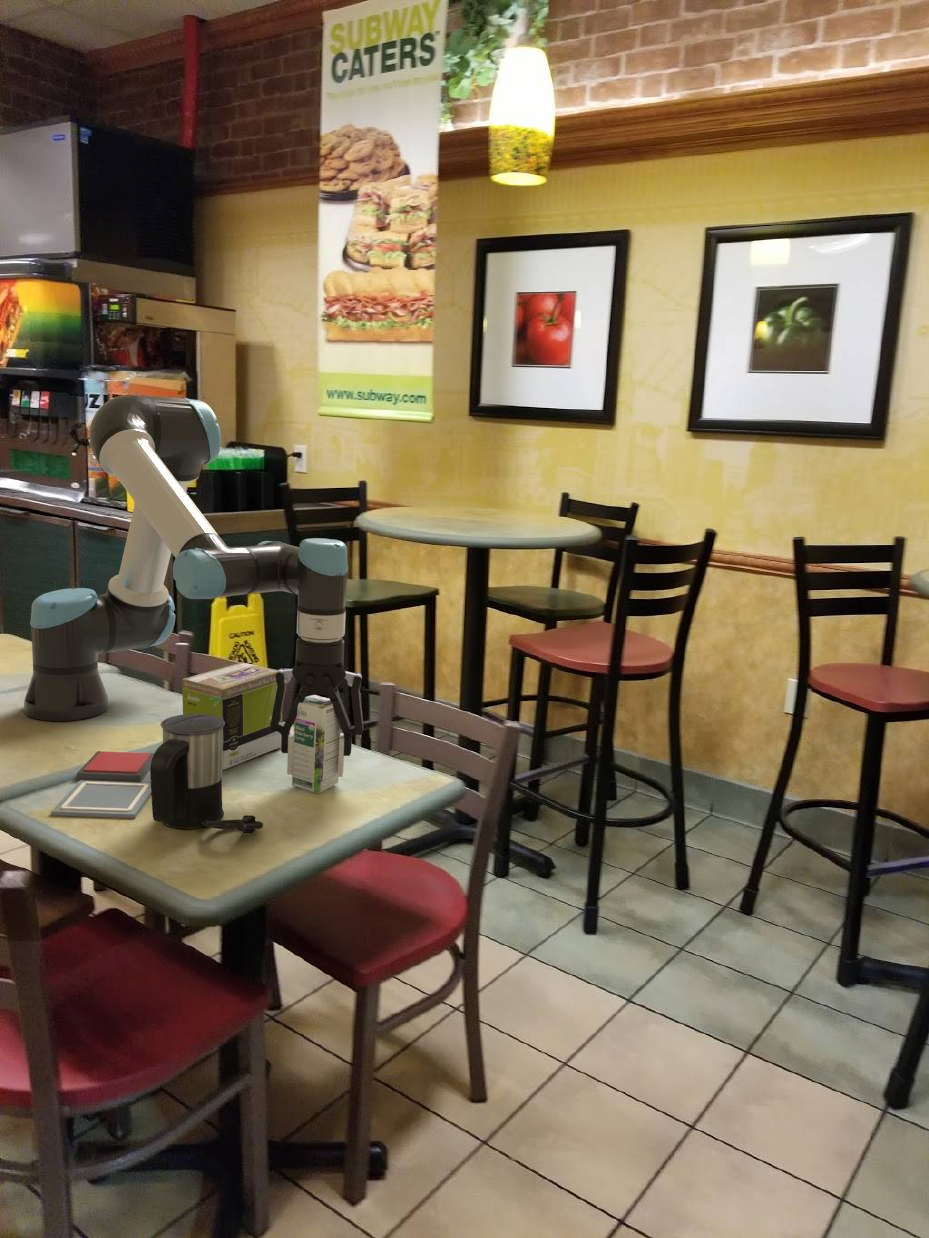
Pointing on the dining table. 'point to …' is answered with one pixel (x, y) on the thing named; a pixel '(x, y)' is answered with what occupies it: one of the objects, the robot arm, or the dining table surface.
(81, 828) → the dining table surface
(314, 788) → the syrup box
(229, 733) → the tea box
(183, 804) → the milk frother
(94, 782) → the marked board
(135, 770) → the ink pad
